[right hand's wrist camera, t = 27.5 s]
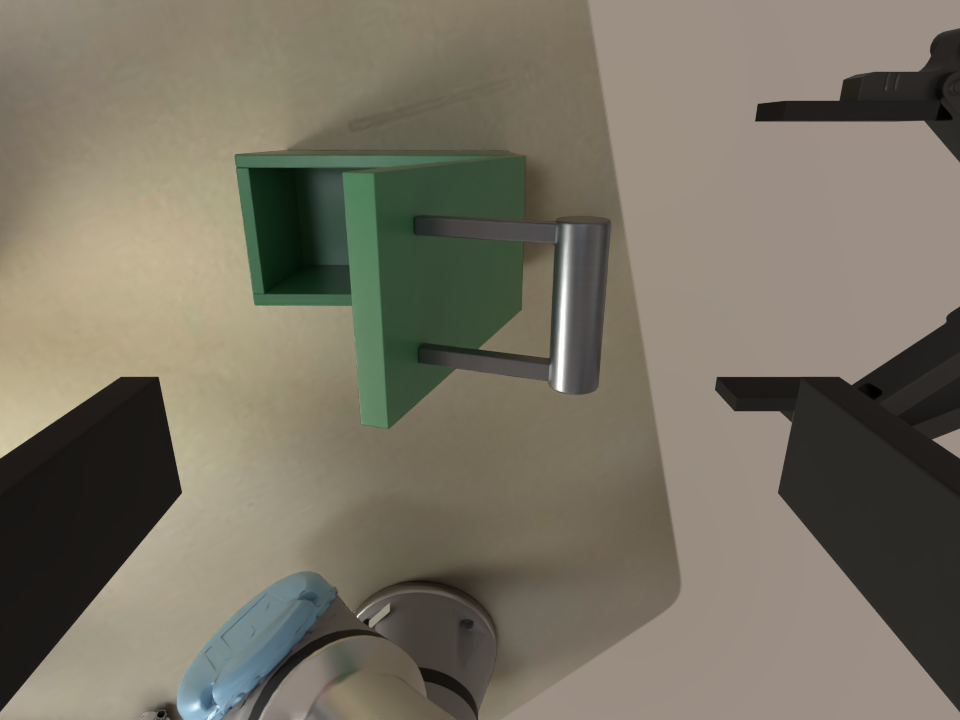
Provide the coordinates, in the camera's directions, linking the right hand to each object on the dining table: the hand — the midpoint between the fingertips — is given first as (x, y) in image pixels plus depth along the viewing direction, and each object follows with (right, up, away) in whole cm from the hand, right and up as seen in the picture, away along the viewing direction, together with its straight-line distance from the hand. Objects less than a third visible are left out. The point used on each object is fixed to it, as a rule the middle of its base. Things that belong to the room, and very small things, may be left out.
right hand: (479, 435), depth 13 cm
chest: (-6, +13, +35) cm, 37 cm away
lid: (-2, +6, +17) cm, 18 cm away
